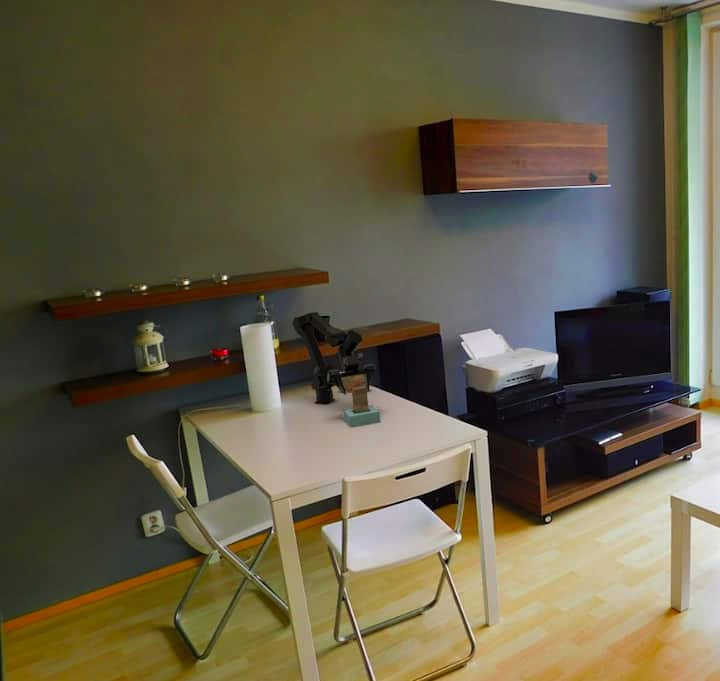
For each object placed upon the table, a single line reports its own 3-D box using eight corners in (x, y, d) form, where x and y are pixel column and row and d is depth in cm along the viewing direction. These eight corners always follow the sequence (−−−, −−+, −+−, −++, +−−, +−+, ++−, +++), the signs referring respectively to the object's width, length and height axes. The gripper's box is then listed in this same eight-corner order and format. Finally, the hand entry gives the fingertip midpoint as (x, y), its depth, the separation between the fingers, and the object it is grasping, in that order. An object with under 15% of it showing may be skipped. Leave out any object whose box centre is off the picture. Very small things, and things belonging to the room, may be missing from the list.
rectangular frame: (344, 419, 233) (343, 409, 232) (372, 415, 236) (371, 405, 235) (350, 427, 224) (349, 416, 223) (380, 421, 227) (379, 411, 226)
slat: (354, 420, 231) (351, 387, 228) (366, 418, 232) (364, 385, 230) (356, 423, 228) (353, 389, 225) (369, 420, 229) (366, 387, 227)
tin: (337, 392, 272) (335, 374, 270) (339, 391, 275) (337, 372, 273) (370, 392, 268) (368, 373, 267) (371, 390, 271) (370, 372, 270)
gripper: (326, 350, 230) (335, 385, 222) (373, 343, 235) (384, 377, 227) (323, 366, 239) (332, 400, 231) (368, 359, 244) (379, 392, 236)
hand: (357, 392), depth 231 cm, fingers open, 9 cm apart
